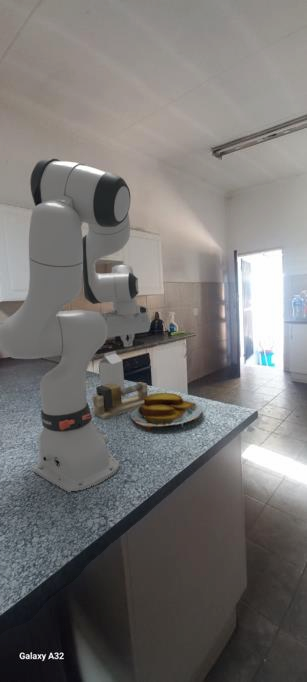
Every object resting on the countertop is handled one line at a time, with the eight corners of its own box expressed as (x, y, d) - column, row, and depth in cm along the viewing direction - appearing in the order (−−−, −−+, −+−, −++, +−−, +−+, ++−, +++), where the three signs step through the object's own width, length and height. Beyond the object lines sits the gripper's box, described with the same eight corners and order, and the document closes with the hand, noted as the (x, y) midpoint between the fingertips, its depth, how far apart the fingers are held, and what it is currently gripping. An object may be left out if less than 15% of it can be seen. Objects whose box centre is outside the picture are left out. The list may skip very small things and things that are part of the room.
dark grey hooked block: (112, 407, 105) (111, 388, 104) (107, 409, 104) (105, 390, 103) (103, 403, 110) (101, 385, 109) (97, 404, 108) (96, 386, 107)
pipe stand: (151, 402, 116) (150, 384, 114) (103, 420, 102) (101, 399, 100) (138, 397, 122) (136, 380, 121) (90, 413, 108) (89, 394, 107)
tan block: (121, 404, 108) (120, 386, 107) (112, 407, 105) (111, 388, 104) (112, 400, 113) (111, 382, 111) (103, 403, 110) (101, 385, 109)
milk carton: (125, 394, 127) (121, 351, 124) (114, 399, 121) (111, 354, 119) (112, 392, 131) (109, 350, 128) (101, 397, 125) (97, 353, 122)
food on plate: (152, 442, 85) (151, 421, 84) (118, 414, 106) (117, 397, 105) (219, 419, 97) (218, 400, 96) (176, 399, 119) (175, 383, 118)
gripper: (106, 311, 101) (109, 351, 102) (151, 308, 114) (153, 343, 116) (96, 312, 105) (100, 350, 107) (141, 308, 119) (143, 342, 120)
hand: (128, 346), depth 112 cm, fingers closed
